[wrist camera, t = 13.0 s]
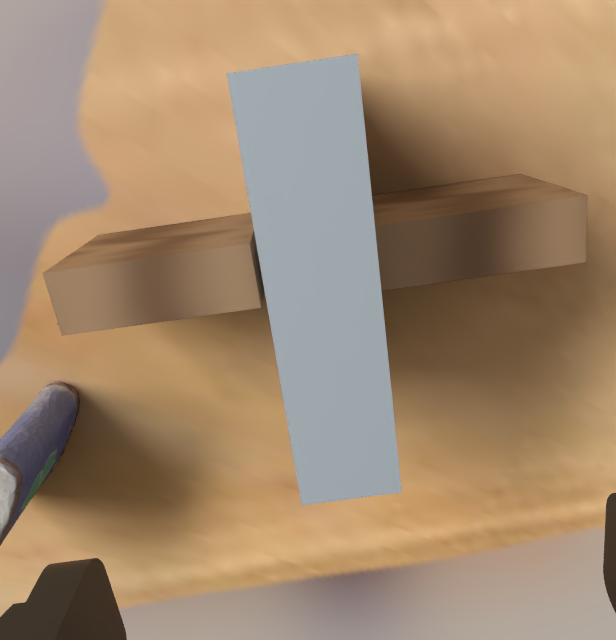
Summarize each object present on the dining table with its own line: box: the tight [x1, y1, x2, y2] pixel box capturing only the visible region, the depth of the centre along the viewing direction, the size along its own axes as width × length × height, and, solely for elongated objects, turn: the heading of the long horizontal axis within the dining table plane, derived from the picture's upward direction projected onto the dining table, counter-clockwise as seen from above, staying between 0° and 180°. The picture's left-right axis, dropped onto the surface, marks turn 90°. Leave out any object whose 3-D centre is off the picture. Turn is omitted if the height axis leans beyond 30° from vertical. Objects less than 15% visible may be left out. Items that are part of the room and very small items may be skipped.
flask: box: [0, 381, 79, 545], centre depth 33 cm, size 9×3×11 cm, turn 149°
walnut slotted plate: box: [43, 174, 588, 336], centre depth 30 cm, size 24×3×8 cm, turn 98°
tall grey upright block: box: [227, 54, 402, 505], centre depth 27 cm, size 4×16×14 cm, turn 8°
